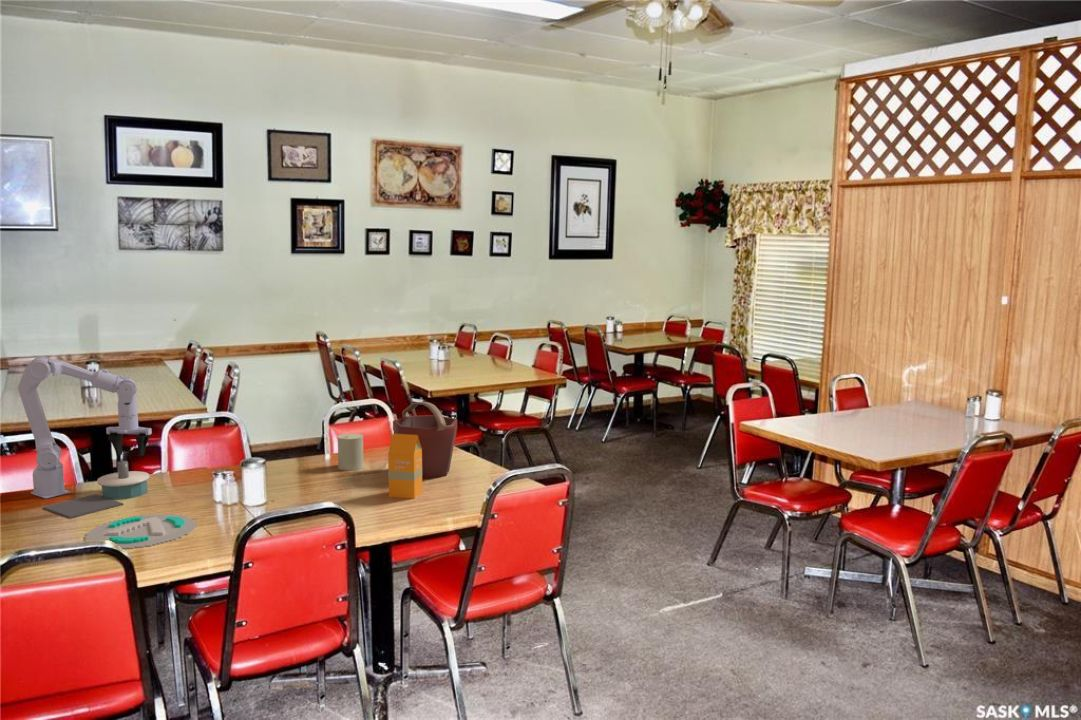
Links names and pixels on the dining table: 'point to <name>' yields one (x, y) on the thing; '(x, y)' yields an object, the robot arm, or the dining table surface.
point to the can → (350, 451)
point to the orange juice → (405, 466)
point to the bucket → (430, 438)
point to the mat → (82, 506)
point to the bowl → (124, 491)
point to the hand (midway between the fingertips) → (130, 455)
